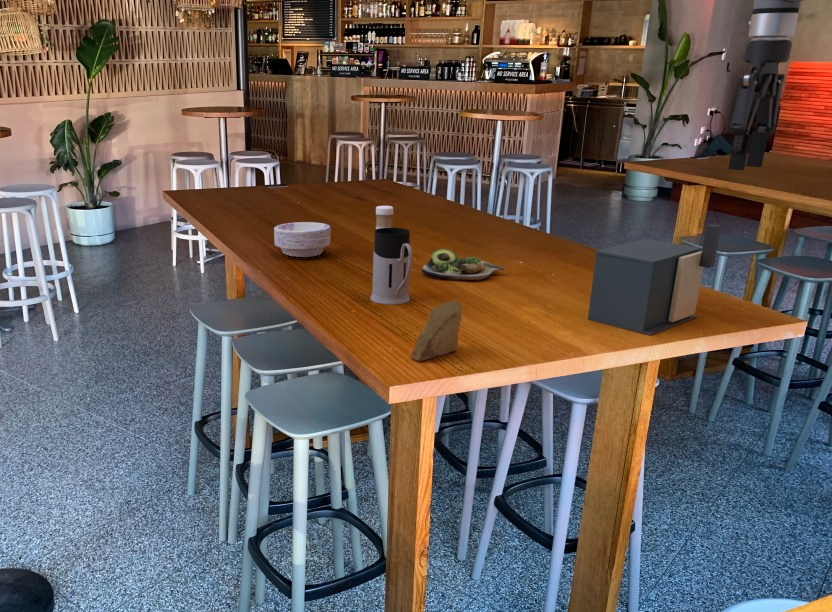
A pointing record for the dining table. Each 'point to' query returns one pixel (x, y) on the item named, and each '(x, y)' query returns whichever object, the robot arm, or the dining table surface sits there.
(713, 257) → the sliding door
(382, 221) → the sprinkles bottle
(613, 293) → the cabinet
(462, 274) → the salad plate
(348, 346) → the dining table surface
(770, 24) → the robot arm
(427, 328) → the rock
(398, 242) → the glass holder
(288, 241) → the paper bowls
